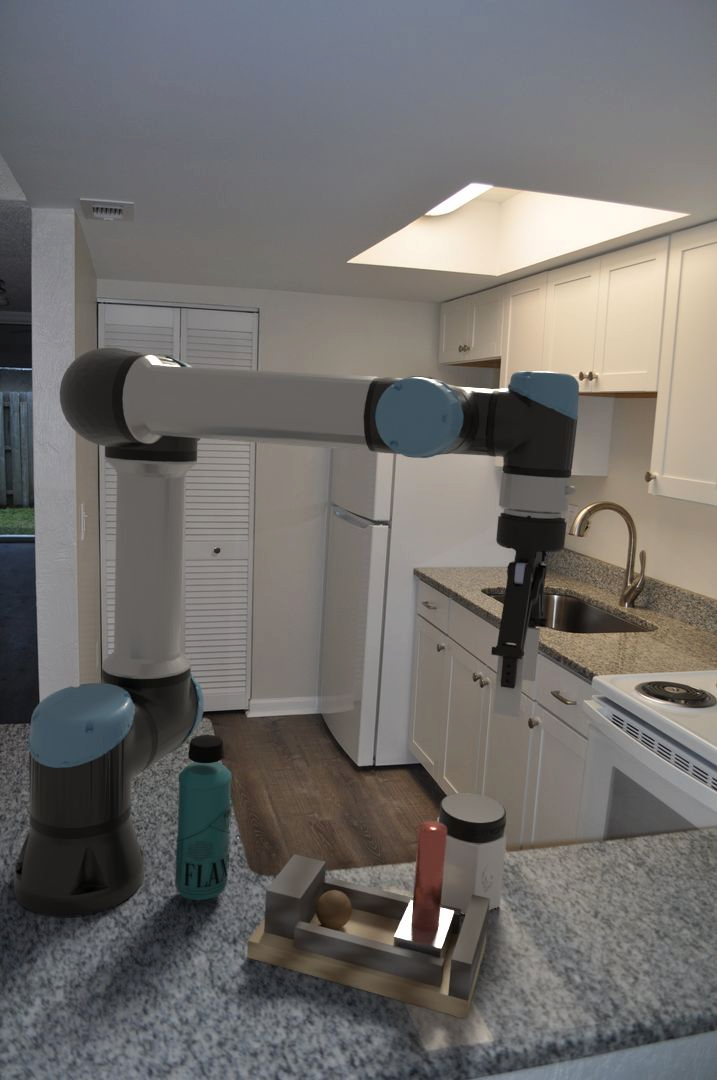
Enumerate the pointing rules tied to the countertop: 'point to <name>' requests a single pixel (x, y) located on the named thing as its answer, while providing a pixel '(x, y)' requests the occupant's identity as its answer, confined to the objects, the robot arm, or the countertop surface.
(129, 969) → the countertop surface
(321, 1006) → the countertop surface
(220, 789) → the beverage bottle
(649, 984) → the countertop surface
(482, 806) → the jar
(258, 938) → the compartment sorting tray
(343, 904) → the nut
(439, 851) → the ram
